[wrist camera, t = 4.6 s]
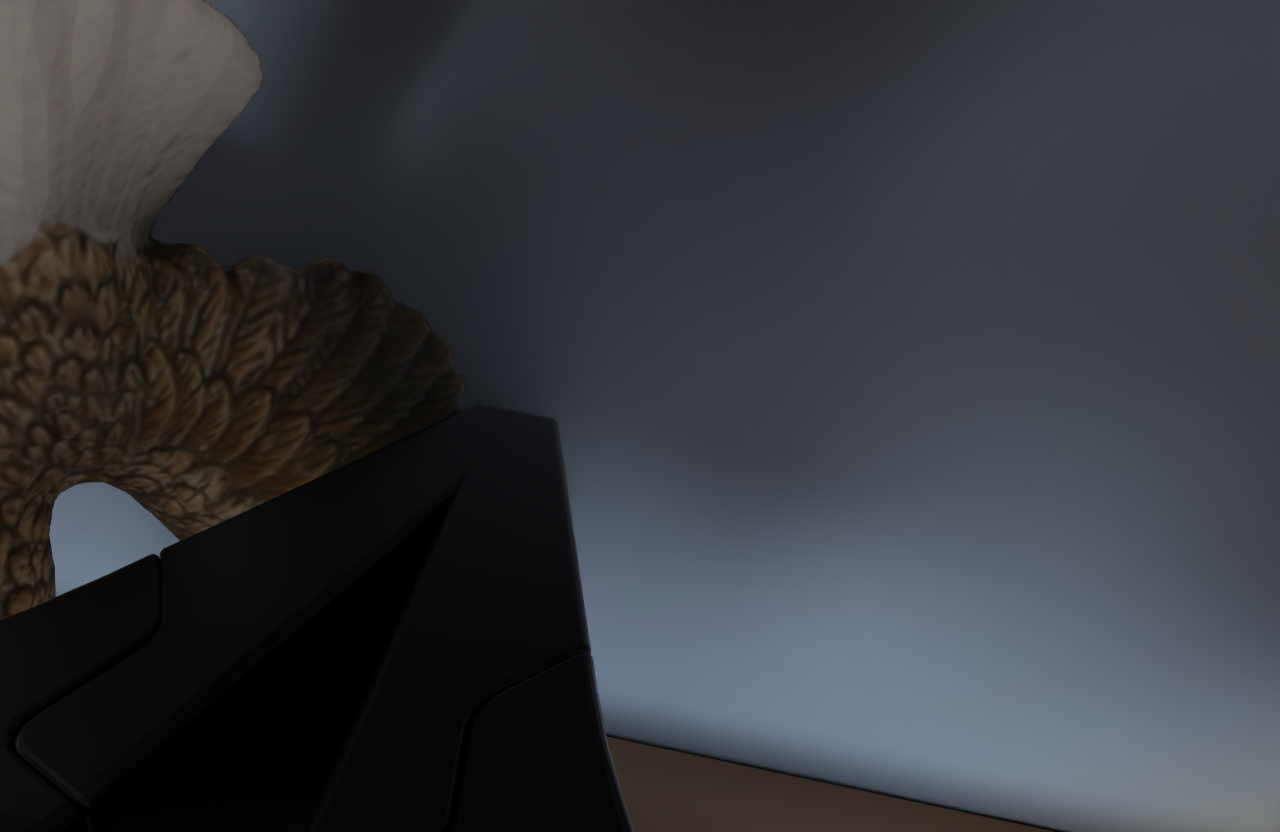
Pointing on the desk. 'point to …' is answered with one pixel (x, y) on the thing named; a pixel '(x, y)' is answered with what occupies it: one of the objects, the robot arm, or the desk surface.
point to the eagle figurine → (166, 295)
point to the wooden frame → (765, 800)
